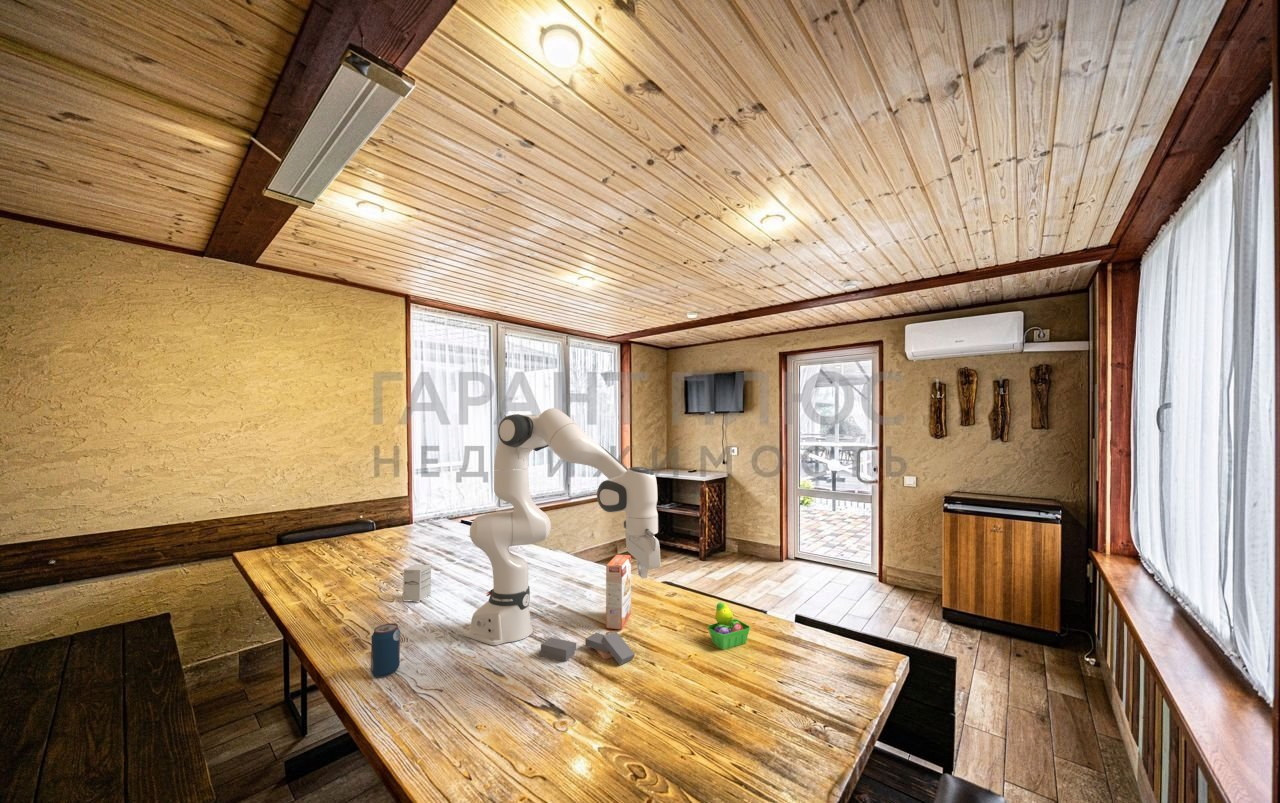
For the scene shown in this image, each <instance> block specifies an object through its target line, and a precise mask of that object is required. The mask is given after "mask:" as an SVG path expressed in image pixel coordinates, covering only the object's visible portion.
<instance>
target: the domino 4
mask: <svg viewBox="0 0 1280 803" xmlns="http://www.w3.org/2000/svg"><path fill="white" fill-rule="evenodd" d="M594 650H595V651H596V652H597V653H598V654H599V656H601V658H602V659H603V660H607V659H611V658H614V657H613V656H612V654H611V653H605V652H602V651H600V650H597V649H594Z"/></svg>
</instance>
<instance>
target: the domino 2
mask: <svg viewBox="0 0 1280 803" xmlns="http://www.w3.org/2000/svg"><path fill="white" fill-rule="evenodd" d="M575 651H576V650H575ZM575 651H574V652H573V653H572V654H570V655H569V656H568V657H562V656H558V655H554V654H550V653H546V652H542V651H541V649H540V650H539V651H538V657H539V658H543V657H544V659H549V660H550V659H551V660H554V661H555V660H556V661H561V662H567V661H569V660H570V659H571V658H572V657H573V656H574V655H575V653H576V652H575Z"/></svg>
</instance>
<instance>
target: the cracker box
mask: <svg viewBox="0 0 1280 803" xmlns="http://www.w3.org/2000/svg"><path fill="white" fill-rule="evenodd" d="M605 567H606V570H605V571H606V572H605V575H606V576H605V580H606V581H605V584H606V587H605V593H606V594H605V628H606V629H608V630H609V629H611V630H612V629H613V630H623V628H624V626H625V625H626V623H627V620H629V617H630V615H631V614H632V612H631V611H632V609H631V607H632V555H631V554H615V555H614V556H613V558H612V559H611V560H610V561H609V562H608V563H607V564H606V566H605Z"/></svg>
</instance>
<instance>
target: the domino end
mask: <svg viewBox="0 0 1280 803" xmlns="http://www.w3.org/2000/svg"><path fill="white" fill-rule="evenodd" d="M603 635H604V636H603V638H602V641H601V642H602V643H603V644H604V646H605V647H606V648H607V649H608V651H609V652H610V653H611V654H612V656H613V657H612V658H614V660H615V661H616V662H617V664H619V666H621V665H624V664H626V663H628V662H630V661H633V660H634V657H635V653H634V651H633V650H632V649H631V647H630V646H629V645H628V644H627V642H625V640H624V639H623V638H622V637H621V635H620V634H619V633H618V632H617V631H613V632H610V633H607V634H603Z"/></svg>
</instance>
